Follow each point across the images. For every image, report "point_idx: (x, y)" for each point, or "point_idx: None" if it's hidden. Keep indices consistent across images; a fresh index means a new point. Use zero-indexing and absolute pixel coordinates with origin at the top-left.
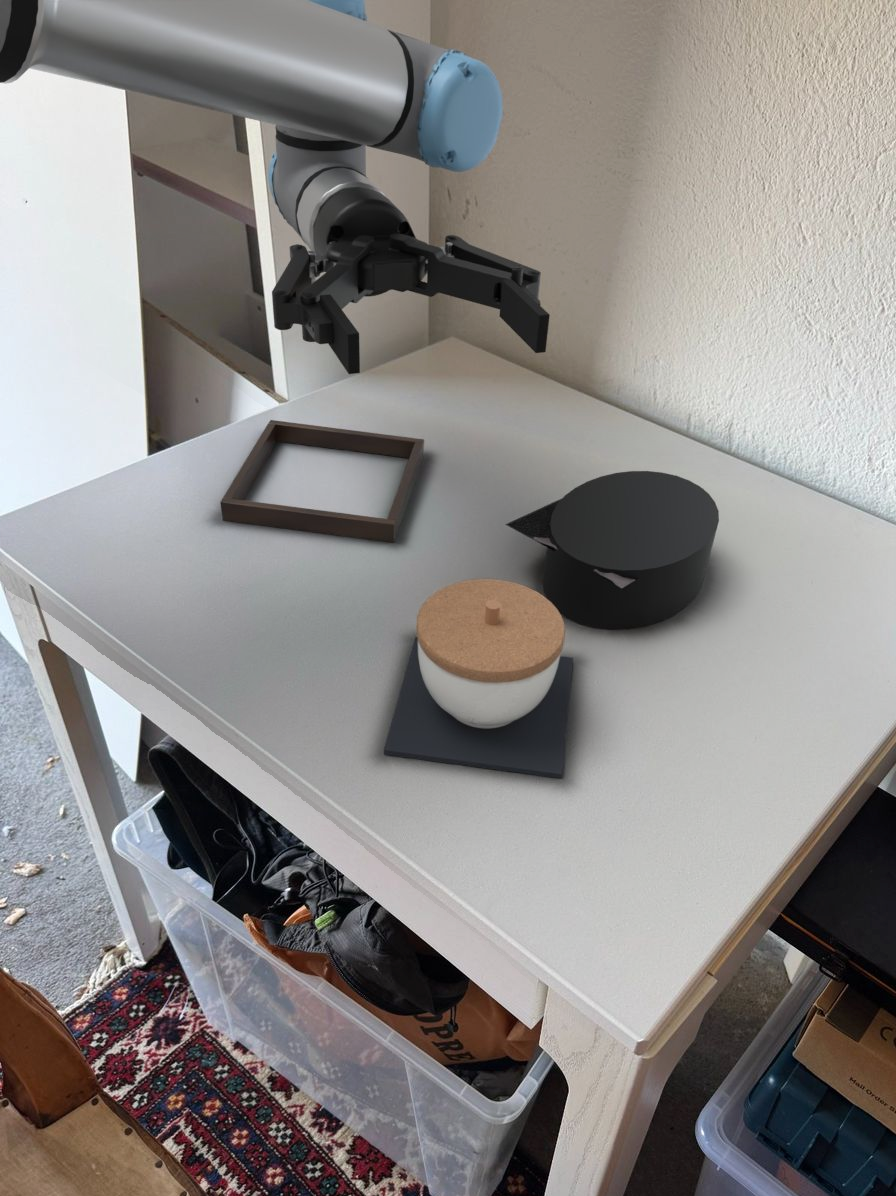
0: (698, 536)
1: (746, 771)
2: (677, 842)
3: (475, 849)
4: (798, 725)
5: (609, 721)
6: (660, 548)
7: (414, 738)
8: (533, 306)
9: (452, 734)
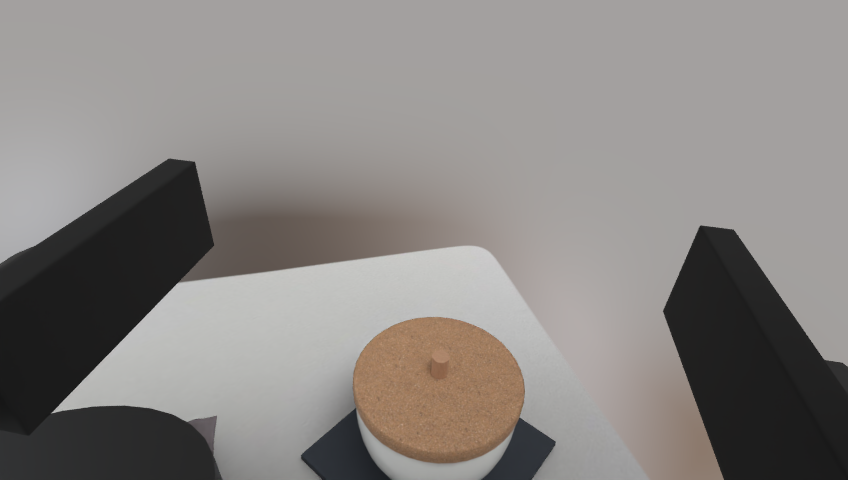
0: None
1: (292, 303)
2: (386, 291)
3: (515, 341)
4: (213, 311)
5: (338, 381)
6: (99, 437)
7: (521, 440)
8: (151, 185)
9: None
